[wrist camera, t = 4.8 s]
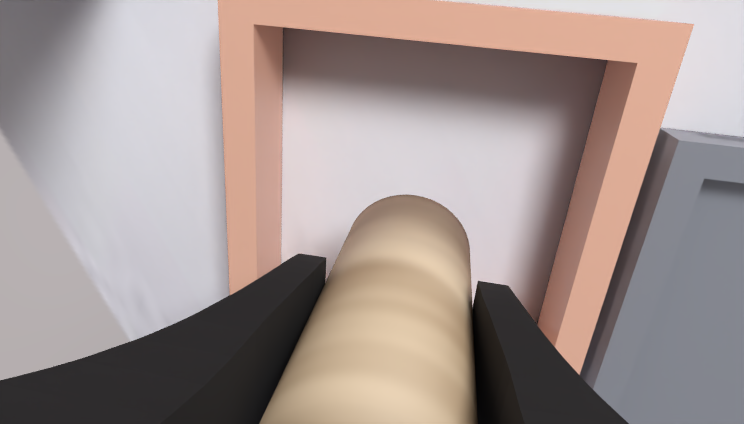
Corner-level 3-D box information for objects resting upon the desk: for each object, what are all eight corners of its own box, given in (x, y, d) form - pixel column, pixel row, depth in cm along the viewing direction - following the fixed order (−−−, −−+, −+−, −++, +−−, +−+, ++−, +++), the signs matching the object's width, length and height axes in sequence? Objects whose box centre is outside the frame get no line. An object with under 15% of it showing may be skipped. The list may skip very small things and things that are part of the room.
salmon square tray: (557, 354, 19) (570, 402, 17) (256, 304, 20) (231, 342, 18) (656, 20, 14) (694, 24, 12) (252, -17, 15) (217, -20, 13)
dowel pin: (459, 312, 13) (460, 593, 7) (343, 293, 14) (246, 545, 7) (479, 204, 12) (504, 428, 6) (351, 186, 12) (241, 380, 6)
